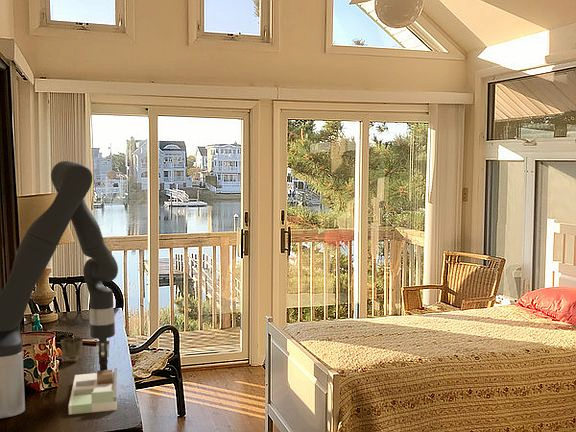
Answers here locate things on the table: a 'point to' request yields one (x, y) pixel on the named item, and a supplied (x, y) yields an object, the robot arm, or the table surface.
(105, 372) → the walnut block
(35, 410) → the table surface
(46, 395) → the table surface
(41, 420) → the table surface
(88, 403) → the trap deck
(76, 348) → the cup
